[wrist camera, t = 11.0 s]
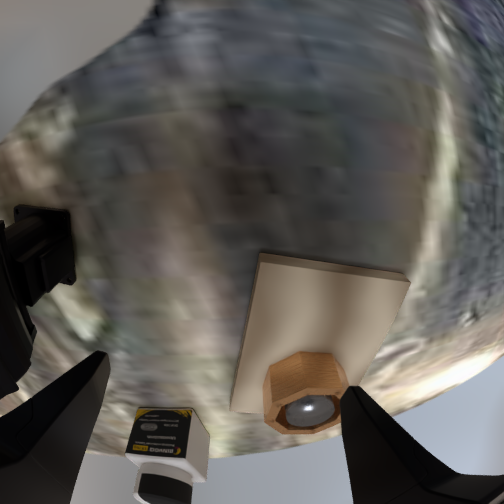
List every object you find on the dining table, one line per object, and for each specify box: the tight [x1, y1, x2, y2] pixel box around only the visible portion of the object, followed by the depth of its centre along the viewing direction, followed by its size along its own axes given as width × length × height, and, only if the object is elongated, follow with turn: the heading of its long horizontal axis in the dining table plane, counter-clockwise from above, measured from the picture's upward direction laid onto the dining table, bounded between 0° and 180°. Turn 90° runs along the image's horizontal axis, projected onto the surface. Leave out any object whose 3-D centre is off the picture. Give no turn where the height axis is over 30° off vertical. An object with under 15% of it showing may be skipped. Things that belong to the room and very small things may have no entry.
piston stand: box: [230, 253, 411, 414], centre depth 23 cm, size 12×17×2 cm
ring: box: [262, 351, 350, 434], centre depth 22 cm, size 7×7×4 cm
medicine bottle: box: [125, 408, 210, 504], centre depth 24 cm, size 7×7×12 cm
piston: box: [285, 395, 335, 427], centre depth 22 cm, size 4×4×4 cm
